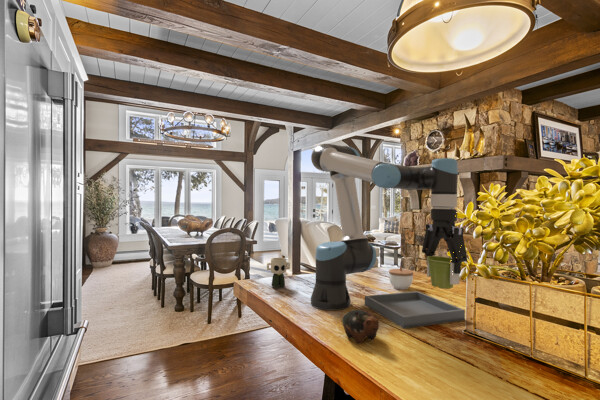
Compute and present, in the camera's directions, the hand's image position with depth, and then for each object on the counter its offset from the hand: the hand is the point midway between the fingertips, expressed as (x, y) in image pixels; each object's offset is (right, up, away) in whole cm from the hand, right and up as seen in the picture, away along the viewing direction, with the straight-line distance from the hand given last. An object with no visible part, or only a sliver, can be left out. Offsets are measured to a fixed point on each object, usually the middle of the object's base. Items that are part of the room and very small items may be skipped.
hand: (442, 279), depth 101 cm
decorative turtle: (-27, -15, -8) cm, 32 cm away
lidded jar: (+2, -16, +48) cm, 51 cm away
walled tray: (-5, -15, +14) cm, 21 cm away
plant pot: (0, -2, 0) cm, 2 cm away
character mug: (-55, -15, +47) cm, 74 cm away
